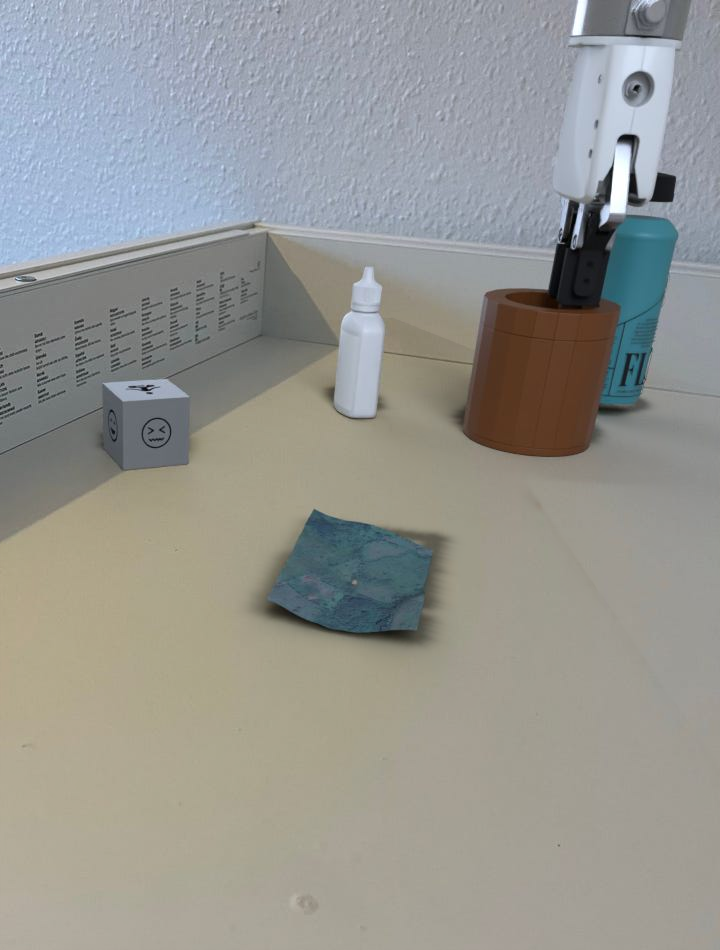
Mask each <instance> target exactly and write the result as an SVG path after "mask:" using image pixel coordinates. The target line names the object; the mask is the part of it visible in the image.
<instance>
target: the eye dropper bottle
mask: <svg viewBox="0 0 720 950" xmlns="http://www.w3.org/2000/svg"><path fill="white" fill-rule="evenodd" d="M382 292H383V286H382V284H380V283H378V282H377V281H376V278H375V267H373V266H365V267H364V270H363V273H362V277H361V279H360V280H359V281H356V282H354V283H353V284H352V291H351V301H350V309H351V310H350V311H349V312H347V313H346V314H345V315H344V316H343V317H342V320H341V325H340V332H339V343H338V352H337V365H336V372H335V385H334V396H333V406H334V409H335V410H336V411H337V412H339V413H340V414H341V415H343V416H345V417H347V418H350V419H373V418H375V417H376V415H377V410H378V404H379V403H378V402H379V395H380V394H379V392H380V385H381V378H382V370H383V369H382V368H383V361H384V352H385V351H384V350H385V349H384V348H385V343H386V341H385V340H386V325H385V321H384V320H383V317H382V316H381V315H380V313H379V311H380V310H381V301H382Z"/></svg>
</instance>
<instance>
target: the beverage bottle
mask: <svg viewBox="0 0 720 950" xmlns="http://www.w3.org/2000/svg"><path fill="white" fill-rule="evenodd" d="M676 184H677V176H676V175H673V174H669V173H664V172H659V171H658V173H657V178H656V183H655V188H654V192H653V196H652V198H651V200H650V201H649V202H648V203H673V202H674V198H675V191H676V190H675V189H676ZM678 239H679V231H678V230H677V228H676V227H675V225H674V224H673V222H672V221H671V220H670V219H669V218H666V217H660V216H652V215H643V214H642V215H641V214H626V218H625V221H624V222H623V223H622V224H621V225H620V226H618V228H617V230H616V235H615V240H614V244H613V248H612V250H611V252H610V257H609V261H608V266H607V271H606V275H605V280H604V285H603V290H602V294H601V298H603V299H606V300H609V301H612V302H615V303H616V304H618V305H620V306H621V312H620V316H619V320H618V325H617V329H616V333H615V338H614V342H613V347H612V351H611V355H610V360H609V364H608V369H607V373H606V377H605V382H604V386H603V390H602V395H601V399H600V404H603V405H617V406H624V405H625V406H626V405H632V404H635V403H637V402H638V400H639V398H640V396H641V395H642V394H643V392H642V391H644V386H645V382H646V381H647V377H648V373H649V368H650V364H651V360H652V359H650V358H652V356H653V354H652V353H653V351H654V348H653V344H654V342H655V341H656V339H655V338H656V335H657V332H656V331H657V330H658V327H659V325H658V324H659V322H660V321H659V320H660V314H661V310H662V308H663V306H664V301H665V298H666V296H665V295H666V293H667V288H668V283H669V282H670V278H671V276H670V270H671V265H672V262H673V258H674V253H675V248H676V244H677V241H678Z"/></svg>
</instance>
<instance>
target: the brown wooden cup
mask: <svg viewBox="0 0 720 950" xmlns="http://www.w3.org/2000/svg"><path fill="white" fill-rule="evenodd" d="M558 307H559V303H558V302H557V299H553V298H551V297H549V295H548V289H546V288H529V287H527V288H526V287H524V288H522V287H519V288H517V287H516V288H515V287H513V288H511V287H510V288H500V289H499V288H498V289H493V290H490V291H486V292H485V293H484V295H483V300H482V306H481V312H480V318H479V325H478V329H477V336H476V342H475V349H474V356H473V361H472V367H471V372H470V373H471V374H470V380H469V385H468V392H467V397H466V404H465V411H464V417H463V427H462V431H463V433H464V435H465V436H466V437H467V438H469V440H472V441H473V442H476V443H477V444H480V445H482V446H485V447H488V448H491V449H494V450H498V451H502V452H506V453H512V454H517V455H523V456H524V455H525V456H533V457H566V456H572V455H577V454H580V453H583V452H586V451H587V450H588V449H589V447H590V445H591V441H592V438H593V434H594V431H595V429H594V428H595V425H596V421H597V416H598V413H599V407H600V404H601V403H600V399H601V395H602V390H603V386H604V382H605V377H606V373H607V369H608V364H609V360H610V355H611V351H612V347H613V342H614V338H615V333H616V329H617V325H618V320H619V316H620V312H621V306H620V305H618V304H616V303H615V302H612V301H609V300H606V299H603V298H601V299H600V303H599V304H598V305H597V306H583V308H582V310H564V309H558Z"/></svg>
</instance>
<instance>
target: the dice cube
mask: <svg viewBox="0 0 720 950" xmlns="http://www.w3.org/2000/svg"><path fill="white" fill-rule="evenodd" d="M101 387H102V388H101V389H102V435H103V436H102V437H103V439H102V440H103V441H102V442H103V450H104V451H105V452H106V453H107V454H108V455H109V457H110V458H112V459H113V461H114V462H116V464H117V465H118V466H119V467H120V468H121V469H122V470H123V471H130V470H140V469H150V468H159V467H171V466H181V465H189V463H190V462H189V459H190V458H189V457H190V455H189V454H190V421H191V420H190V418H191V417H190V413H191V396H189V395H188V394H187V393H186V392H184V391H183V390H182V389H180V388H179V387H178V386H177V385H176V384H174V383H173V382H172V381H170V380H169V379H168V378H160V379H159V378H158V379H141V380H127V381H125V380H124V381H112V382H111V381H110V382H101Z"/></svg>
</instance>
